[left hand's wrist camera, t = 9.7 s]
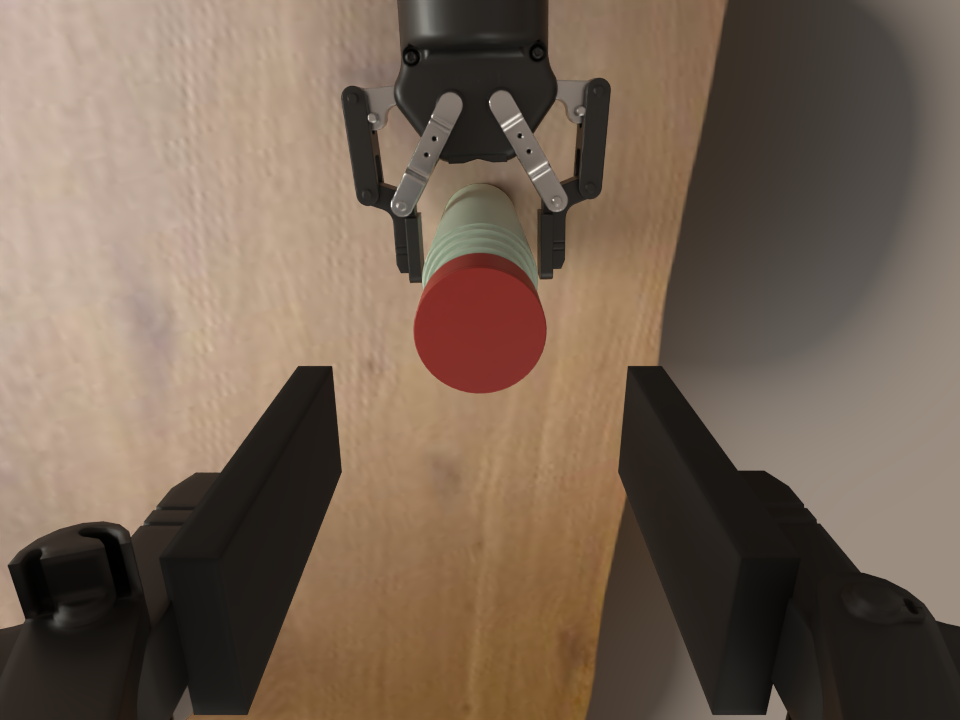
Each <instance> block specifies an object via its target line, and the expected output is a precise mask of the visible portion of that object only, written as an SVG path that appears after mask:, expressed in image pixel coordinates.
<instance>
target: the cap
mask: <svg viewBox="0 0 960 720" xmlns="http://www.w3.org/2000/svg"><path fill="white" fill-rule="evenodd" d="M414 340H415V346H416V349H417V352H418V354H419V356H420V358H421V360H422V362H423V363H424V365H425V366H426V368H427V369H428V370H429V371H430V372H431V373H432V374H433V375H434V376H435V377H436V378H437V379H438V380H440V381H441V382H443V383H444V384H446V385H448V386H450V387H452V388H455V389H457V390H460V391H464V392H469V393H491V392H496V391H500V390H503V389H505V388H508V387H510V386H512V385H514V384H516V383H517V382H519V381H520V380H522V379H523V378H524V377H525V376H526V375H527V374H528V373H529V372H530V371H531V370H532V369H533V368H534V367H535V365H536V363H537V362H538V360H539V358H540V356H541V354H542V352H543V349H544V345H545V341H546V319H545V315H544V311H543V308H542V305H541V302H540V299H539V296H538V293H537V291H536V288H535V286H534V284H533V282H532V281H531V279H530V278H529V276H528V275H527V274H526V273H525V272H524V271H523V270H522V269H521V268H520V267H519V266H518V265H516V264H515V263H513V262H512V261H510V260H508V259H506V258H504V257H501V256H498V255H494V254H489V253H471V254H466V255H462V256H459V257H456V258H454V259H452V260H450V261H448V262H447V263H445V264H444V265H442V266H441V267H440V268H439V269H438V270H437V271H436V272H435V273H434V274H433V275H432V276H431V278H430V279H429V281H428V282H427V284H426V286H425V288H424V291H423V293H422V296H421V299H420V302H419V305H418V309H417V312H416V315H415V320H414Z"/></svg>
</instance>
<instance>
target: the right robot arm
mask: <svg viewBox="0 0 960 720" xmlns="http://www.w3.org/2000/svg"><path fill="white" fill-rule="evenodd" d="M397 3H398V17H399V32H400V46H401V68H400V72H399V76H398V78H397V80H396V82H395V85H394V86H387V87H377V88H367V89H364V88H360V87H356V86H349V87H347V88H345V89H344V91H343V92H342V95H341V100H342V106H343V113H344V119H345V126H346V132H347V138H348V145H349V151H350V158H351V164H352V170H353V177H354V183H355V190H356V196H357V199H358V201H359V202H360V203H361V204H363V205H365V206H374V207H377V208H380V209H383V210H385V211H387V212H388V213H389V214H390V215H391V217H392V219H393V224H394V237H395V249H396V261H397V266H398V268H399V270H400V272H401V273H409V280H410V283H422V274H423V268H424V253H423V237H422V222H421V212H419V213H417V202H418V200H419V198H420V196H421V194H422V192H423V190H424V188H425V186H426V184H427V182H428V180H429V178H430V177H431V175H432V173H433V171H434V169H435V167H436V165H437V163H438V161H439V159H441V160H443V161H446V162H449V164H456V163H465V162H469V161H472V160H475V159H482V160H486V161H490V162H507V160H510V159H512V158H514V157H515V156H517V158H518V160H519V161H520V163H521V165H522V166H523V168H524V170H525V172H526V173H527V175H528V176H529V178H530V180H531V182H532V183H533V185H534V187H535V188H536V190H537V192H538V194H539V195H540V197H541V209H538V275H539V278H540V279H553V269H561V268H562V265H563V263H564V260H565V218H566V213H567V211H568V209H569V208H570V207H571V206H572V205H574V204H576V203H578V202H581V201H583V200H586V199H594V198H596V197H597V196H598V195H599V194H600V192H601V189H602V179H603V168H604V157H605V147H606V136H607V125H608V114H609V103H610V92H611V88H610V85H609V83H608V81H607V80H605V79H603V78H594V79H591V80H589V81H572V80H556V77H555V75H554V73H553V71H552V69H551V66H550V63H549V58H548V0H397ZM555 100H559V101H560V102H562V103H563V105H564V107H565V111H566V116H567V118H568V120H569V121H571V122H573V123H578V124H577V137H576V150H575V163H574V176H573V177H572V178H569V179H567V180H564V181H562V182H559V180H558V179H557V177H556V175H555V173H554V172H553V170H552V168H551V166H550V164H549V162H548V160H547V158H546V156H545V155H544V153H543V151H542V149H541V148H540V146H539V144H538V142H537V141H536V139H535V137H534V135H533V133H534V132H535V130H536V129H537V127H538V126H539V124H540V123H541V121H542V120H543V118H544V117H545V115H546V114H547V112H548V111H549V109H550V108H551V106H552V105H553V103H554V102H555ZM395 105H397V106H398V108H399V109H400V111H401V112H402V113H403V114H404V116H405V117H406V118H407V120H408V121H409V122H410V124H411V125H412V126H413V128H414V129H415V130H416V132H417V133H418V134H419V135H420V137H421V140H420V142H419V144H418V146H417V148H416V150H415V152H414V154H413V156H412V158H411V160H410V162H409V164H408V167H407V169H406V172H405V174H404V176H403V178H402V180H401V182H400V184H399V186H398V187H395V186H392V185H389V184H386V183H384V178H383V171H382V164H381V157H380V150H379V143H378V135H377V130H380V129H383V128H384V127H385V126H386V124H387V121H388V113H389V110H390V109H391V108H392V107H393V106H395Z"/></svg>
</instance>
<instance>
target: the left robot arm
mask: <svg viewBox="0 0 960 720" xmlns="http://www.w3.org/2000/svg"><path fill="white" fill-rule="evenodd" d="M341 473H342V469H341V458H340V447H339V436H338V425H337V414H336V403H335V392H334V381H333V370H332V366H298V367H297V369H296V370H295V371H294V373H293V374H292V375H291V377H290V378H289V380H288V381H287V382H286V384H285V385H284V386H283V388H282V389H281V391H280V392H279V393H278V395H277V396H276V397H275V399H274V400H273V402H272V403H271V404H270V406H269V407H268V408H267V410H266V411H265V413H264V414H263V415H262V417H261V418H260V419H259V421H258V422H257V424H256V425H255V426H254V428H253V429H252V430H251V432H250V433H249V435H248V436H247V437H246V439H245V440H244V441H243V443H242V444H241V446H240V447H239V448H238V450H237V451H236V452H235V454H234V455H233V457H232V458H231V459H230V461H229V462H228V463H227V465H226V466H225V468H224V469H223V470H222V472H221V473H195V474H193V475H192V476H190V477H189V478H187V479H185V480H184V481H182V482H181V483H179V484H178V485H176V486H175V487H173V488H172V489H171V490H170V491H169V492H168V493H167V495H166V496H165V497H164V498H163V499H162V501H161V502H160V503H159V504H158V505H157V508H156V510H153V511H152V513H151V514H150V515H149V516H148V517H147V519H146V520H145V521H144V525H143V526H140V527H139V528H138V529H137V531H136V532H135V533H134V534H133V536H132V537H130V533H129V531H128V530H126V529H125V528H124V527H122V526H121V525H120V524H115V523H109V522H104V521H103V522H90V523H81V524H77V525H74V526H70V527H66V528H62V529H59V530H57V531H55V532H52V533H50V534H48V535H46V536H43V537H41V538H39V539H37V540H35V541H34V542H33V543H31V544H30V545H28V546H27V547H25V548H24V549H22V550H21V551H19V552H18V554H17V555H16V556H15V557H14V558H13V560H12V561H11V562H10V563H9V564H8V568H9V571H10V574H11V577H12V580H13V583H14V586H15V589H16V592H17V595H18V598H19V601H20V604H21V607H22V610H23V613H24V616H25V619H26V620H25V622H24V624H21V625H17V626H13V627H9V628H4V629H0V720H186V719H187V718H188V717H189V716H190V715H191V714H192V713H193V712H194V715H247V714H248V712H249V709H250V707H251V704H252V702H253V699H254V696H255V694H256V691H257V689H258V686H259V684H260V681H261V678H262V676H263V673H264V671H265V668H266V666H267V663H268V660H269V658H270V655H271V653H272V650H273V648H274V645H275V642H276V640H277V637H278V635H279V632H280V630H281V627H282V624H283V622H284V619H285V617H286V614H287V612H288V609H289V606H290V604H291V601H292V599H293V596H294V594H295V591H296V588H297V586H298V583H299V581H300V578H301V576H302V573H303V570H304V568H305V565H306V563H307V560H308V558H309V555H310V552H311V550H312V547H313V545H314V542H315V540H316V537H317V534H318V532H319V529H320V527H321V524H322V522H323V519H324V516H325V514H326V511H327V509H328V506H329V504H330V501H331V498H332V496H333V493H334V491H335V488H336V486H337V483H338V480H339V478H340V475H341ZM618 473H619V475H620V478H621V480H622V483H623V486H624V488H625V491H626V493H627V496H628V498H629V501H630V503H631V506H632V509H633V511H634V514H635V516H636V519H637V522H638V524H639V527H640V529H641V532H642V534H643V537H644V540H645V542H646V545H647V547H648V550H649V552H650V555H651V557H652V560H653V563H654V565H655V568H656V570H657V573H658V575H659V578H660V581H661V583H662V586H663V588H664V591H665V593H666V596H667V599H668V601H669V604H670V606H671V609H672V612H673V614H674V617H675V619H676V622H677V624H678V627H679V629H680V632H681V635H682V637H683V640H684V642H685V645H686V647H687V650H688V653H689V655H690V658H691V660H692V663H693V665H694V668H695V671H696V673H697V676H698V678H699V681H700V683H701V686H702V689H703V691H704V694H705V696H706V699H707V702H708V704H709V707H710V709H711V712H712V714H713V715H766V712H767V708H768V703H769V699H770V694H771V690H772V686H773V684H774V686H775V688H776V690H777V692H778V694H779V696H780V698H781V700H782V702H783V704H784V706H785V708H786V709H787V711H788V712H787V716H786V720H960V627H959V626H954V625H950V624H946V623H942V622H939V621H935V618H934V617H933V616H932V614H931V613H930V611H929V610H928V609H927V607H926V606H925V604H924V603H922V602H921V601H920V600H919V599H917V598H916V597H915V596H913V595H912V594H911V593H910V592H908V591H907V590H905V589H903V588H901V587H899V586H898V585H896V584H894V583H891V582H890V581H888V580H886V579H882V578H879V577H876V576H872V575H869V574H865V573H861V572H860V571H859V570H858V569H857V567H856V566H855V565H854V564H853V563H852V561H851V560H850V559H849V558H848V557H847V555H846V554H845V553H844V552H843V551H842V549H841V548H840V547H839V546H838V545H837V543H836V542H835V541H834V540H833V539H832V537H831V536H830V535H829V534H828V533H827V531H826V530H825V529H824V528H823V527H822V525H821V524H817V520H816V518H815V517H814V516H813V515H812V513H811V512H810V511H809V510H808V509H807V508H804V504H803V503H802V502H801V500H800V499H799V498H798V497H797V496H796V494H795V493H794V492H793V491H792V490H791V488H790V487H789V486H787V485H786V484H784V483H783V482H781V481H780V480H778V479H777V478H775V477H773V476H772V475H770V474H769V473H767V472H766V471H738V470H737V469H736V468H735V466H734V465H733V463H732V462H731V461H730V459H729V458H728V457H727V455H726V454H725V452H724V451H723V450H722V448H721V447H720V446H719V444H718V443H717V441H716V440H715V439H714V437H713V436H712V435H711V433H710V432H709V430H708V429H707V428H706V426H705V425H704V424H703V422H702V421H701V419H700V418H699V417H698V415H697V414H696V413H695V411H694V410H693V408H692V407H691V406H690V404H689V403H688V402H687V400H686V399H685V397H684V396H683V395H682V393H681V392H680V391H679V389H678V388H677V386H676V385H675V384H674V382H673V381H672V380H671V378H670V377H669V376H668V374H667V373H666V371H665V370H664V369H663V367H662V366H628V370H627V381H626V392H625V403H624V414H623V425H622V436H621V447H620V458H619V469H618Z"/></svg>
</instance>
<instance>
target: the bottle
mask: <svg viewBox="0 0 960 720" xmlns="http://www.w3.org/2000/svg"><path fill="white" fill-rule="evenodd" d="M471 253H489V254H494V255H498V256H501V257H504V258H506V259H508V260H510V261H512V262H513V263H515V264H516V265H518V266H519V267H520V268H521V269H522V270H523V271H524V272H525V273H526V274H527V275H528V276H529V278H530V279H531V281H532V282H533V284H534V286H535V288H536V291H537V286H538V274H537V268H536V264H535V261H534V258H533V255H532V253H531V250H530V247H529V245H528V242H527V239H526V237H525V234H524V232H523V229H522V226H521V224H520V221H519V218H518V216H517V213H516V210H515V208H514V205H513V203H512V201H511V200H510V199H509V197H508V196H507V195H506V194H505V193H504V192H503V191H501V190H500V189H498V188H497V187H494V186H492V185H488V184H471V185H468V186H466V187H463V188H462V189H460V190H458V191H457V192H456V193H455V194H454V195H453V196H452V197H451V199H450V200H449V201H448V203H447V205H446V208H445V210H444V213H443V216H442V218H441V221H440V224H439V226H438V229H437V232H436V234H435V237H434V240H433V242H432V245H431V248H430V250H429V253H428V255H427V258H426V261H425V263H424V268H423V274H422V286H423V291H424V288H425V286H426V284H427V282H428V281H429V279H430V278H431V276H432V275H433V274H434V273H435V272H436V271H437V270H438V269H439V268H440V267H441V266H442V265H444V264H445V263H447V262H448V261H450V260H452V259H454V258H456V257H459V256H462V255H466V254H471Z"/></svg>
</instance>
